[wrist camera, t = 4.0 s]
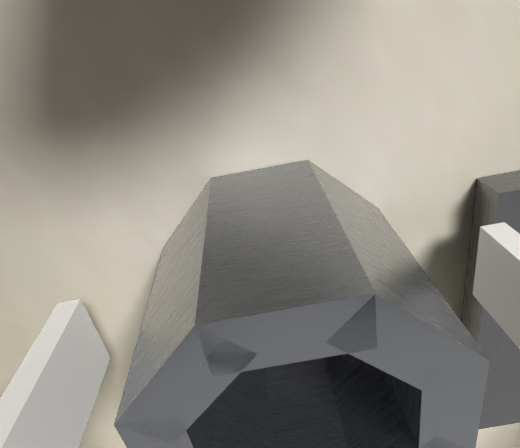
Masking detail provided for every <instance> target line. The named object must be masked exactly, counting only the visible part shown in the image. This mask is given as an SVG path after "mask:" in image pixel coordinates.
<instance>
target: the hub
mask: <svg viewBox="0 0 520 448" xmlns="http://www.w3.org/2000/svg"><path fill="white" fill-rule="evenodd" d="M489 365H490V360H489V359H488V357H487V356H486V355H485V353H484V352H483V350H482V349H481V348H480V346H479V345H478V344H477V342H476V341H475V340H474V338H473V337H472V336H471V334H470V333H469V331H468V330H467V329H466V327H465V326H464V325H463V323H462V322H461V321H460V319H459V318H458V316H457V315H456V314H455V312H454V311H453V310H452V308H451V307H450V306H449V304H448V303H447V301H446V300H445V299H444V297H443V296H442V295H441V293H440V292H439V291H438V289H437V288H436V287H435V285H434V284H433V282H432V281H431V280H430V278H429V277H428V276H427V274H426V273H425V272H424V270H423V269H422V267H421V266H420V265H419V263H418V262H417V261H416V259H415V258H414V257H413V255H412V254H411V252H410V251H409V250H408V248H407V247H406V246H405V244H404V243H403V242H402V240H401V239H400V238H399V236H398V235H397V233H396V232H395V231H394V229H393V228H392V227H391V225H390V224H389V223H388V221H387V220H386V218H385V217H384V216H383V214H382V213H381V212H380V210H379V209H378V208H377V207H375V206H374V205H372V204H371V203H369V202H368V201H366V200H365V199H364V198H362V197H361V196H359V195H358V194H356V193H355V192H353V191H352V190H350V189H349V188H348V187H346V186H345V185H343V184H342V183H340V182H339V181H337V180H336V179H334V178H333V177H332V176H330V175H329V174H327V173H326V172H324V171H323V170H321V169H320V168H319V167H317V166H316V165H314V164H313V163H311V162H310V161H308V160H306V161H301V162H295V163H290V164H285V165H279V166H274V167H268V168H263V169H258V170H252V171H247V172H241V173H236V174H231V175H225V176H220V177H214V178H211V179H210V181H209V182H208V183H207V185H206V186H205V188H204V189H203V191H202V192H201V194H200V195H199V197H198V198H197V200H196V201H195V202H194V204H193V205H192V207H191V208H190V210H189V211H188V213H187V214H186V216H185V217H184V218H183V220H182V221H181V223H180V224H179V226H178V227H177V229H176V230H175V232H174V233H173V234H172V236H171V237H170V239H169V240H168V242H167V243H166V245H165V246H164V248H163V251H162V255H161V258H160V262H159V266H158V269H157V273H156V276H155V280H154V284H153V287H152V291H151V294H150V298H149V302H148V305H147V309H146V312H145V316H144V320H143V323H142V327H141V330H140V334H139V338H138V341H137V345H136V348H135V352H134V355H133V359H132V363H131V366H130V370H129V373H128V377H127V381H126V384H125V388H124V391H123V395H122V399H121V402H120V406H119V409H118V413H117V417H116V420H115V424H114V426H115V427H116V429H117V431H118V433H119V434H120V436H121V438H122V440H123V441H124V443H125V445H126V447H127V448H475V446H476V440H477V434H478V429H479V423H480V417H481V411H482V405H483V400H484V394H485V388H486V382H487V376H488V371H489Z"/></svg>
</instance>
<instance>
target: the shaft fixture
mask: <svg viewBox="0 0 520 448" xmlns="http://www.w3.org/2000/svg"><path fill="white" fill-rule="evenodd" d="M503 222H505V223H506V224H507V225H509V226H510V227H511V228H513V229H514V230H515V231H517V232H518V233H519V234H520V171H515V172H509V173H504V174H498V175H493V176H487V177H482V178H478V179H477V187H476V196H475V205H474V214H473V223H472V232H471V241H470V250H469V259H468V267H467V276H466V285H465V294H464V303H463V312H462V321H461V322H462V323H463V325H464V326H465V327H466V329H467V330H468V331H469V333H470V334H471V336H472V337H473V338H474V340H475V341H476V342H477V344H478V345H479V346H480V348H481V349H482V350H483V352H484V353H485V355H486V356H487V357H488V359H489V360H490V365H489V371H488V376H487V382H486V388H485V394H484V400H483V405H482V411H481V417H480V423H479V429H483V428H489V427H495V426H501V425H507V424H513V423H519V422H520V349H519V348H518V347H517V346H516V345H515V343H514V342H513V341H512V340H511V339H510V338H509V336H508V335H507V334H506V333H505V332H504V331H503V329H502V328H501V327H500V326H499V325H498V324H497V322H496V321H495V320H494V319H493V318H492V316H491V315H490V314H489V313H488V312H487V311H486V309H485V308H484V307H483V306H482V305H481V304H480V302H479V301H478V300H477V299H476V298H475V297H474V295H473V286H474V278H475V269H476V260H477V251H478V242H479V233H480V227H481V226H486V225H492V224H497V223H503Z"/></svg>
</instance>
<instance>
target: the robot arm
mask: <svg viewBox="0 0 520 448" xmlns="http://www.w3.org/2000/svg"><path fill="white" fill-rule="evenodd" d="M473 295H474V297H475V298H476V299H477V300H478V301H479V302H480V304H481V305H482V306H483V307H484V308H485V309H486V311H487V312H488V313H489V314H490V315H491V316H492V318H493V319H494V320H495V321H496V322H497V324H498V325H499V326H500V327H501V328H502V329H503V331H504V332H505V333H506V334H507V335H508V336H509V338H510V339H511V340H512V341H513V342H514V343H515V345H516V346H517V347H518V348H519V349H520V234H519V233H518V232H517V231H515V230H514V229H513V228H511V227H510V226H509V225H507V224H506V223H505V222H503V223H497V224H492V225H486V226H481V227H480V233H479V242H478V251H477V260H476V269H475V278H474V286H473ZM109 361H110V356H109V354H108V352H107V350H106V348H105V346H104V344H103V342H102V340H101V338H100V336H99V334H98V332H97V330H96V328H95V326H94V324H93V322H92V320H91V318H90V316H89V314H88V312H87V310H86V308H85V306H84V304H83V302H82V300H81V299H76V300H71V301H65V302H60V303H57V305H56V307H55V308H54V310H53V312H52V313H51V315H50V317H49V318H48V320H47V322H46V323H45V325H44V327H43V328H42V330H41V332H40V333H39V335H38V337H37V338H36V340H35V342H34V343H33V345H32V347H31V348H30V350H29V352H28V353H27V355H26V357H25V358H24V360H23V362H22V363H21V365H20V366H19V368H18V370H17V371H16V373H15V375H14V376H13V378H12V380H11V381H10V383H9V385H8V386H7V388H6V390H5V391H4V393H3V395H2V396H1V398H0V448H79V446H80V444H81V441H82V438H83V435H84V432H85V429H86V426H87V424H88V421H89V418H90V415H91V412H92V409H93V407H94V404H95V401H96V398H97V395H98V392H99V390H100V387H101V384H102V381H103V378H104V375H105V373H106V370H107V367H108V364H109Z"/></svg>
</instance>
